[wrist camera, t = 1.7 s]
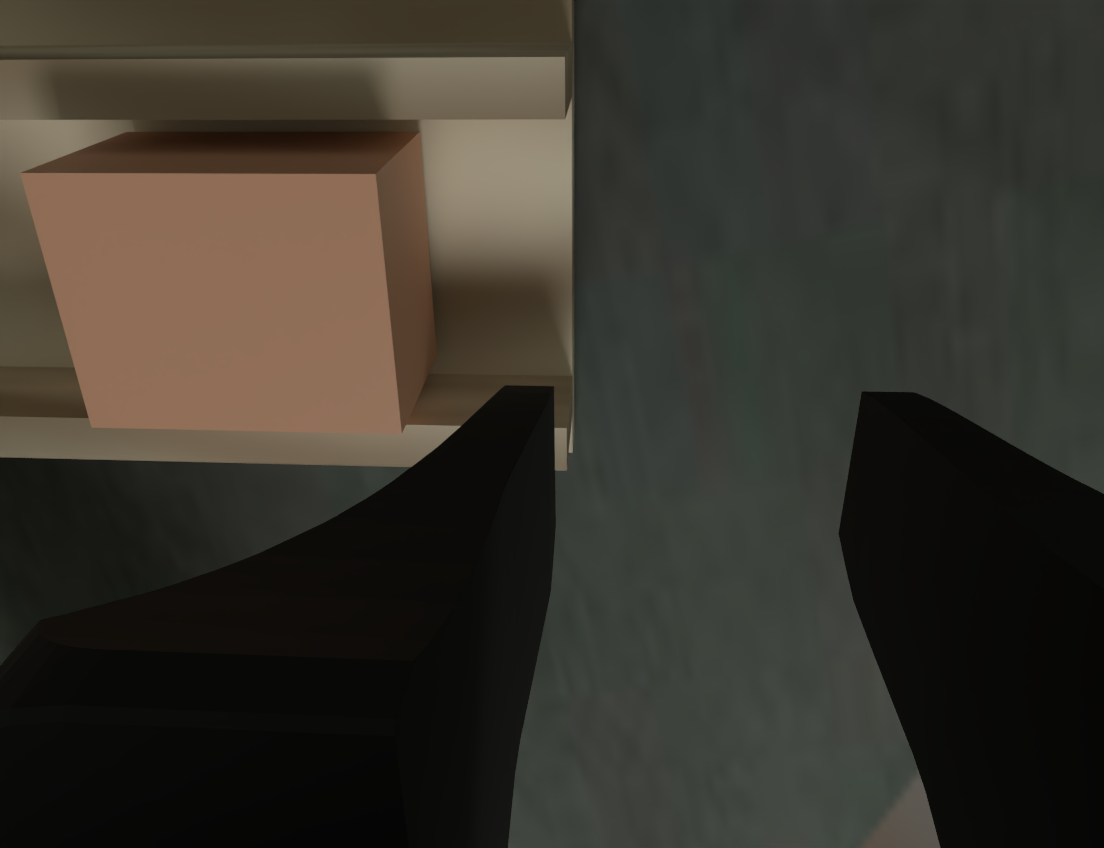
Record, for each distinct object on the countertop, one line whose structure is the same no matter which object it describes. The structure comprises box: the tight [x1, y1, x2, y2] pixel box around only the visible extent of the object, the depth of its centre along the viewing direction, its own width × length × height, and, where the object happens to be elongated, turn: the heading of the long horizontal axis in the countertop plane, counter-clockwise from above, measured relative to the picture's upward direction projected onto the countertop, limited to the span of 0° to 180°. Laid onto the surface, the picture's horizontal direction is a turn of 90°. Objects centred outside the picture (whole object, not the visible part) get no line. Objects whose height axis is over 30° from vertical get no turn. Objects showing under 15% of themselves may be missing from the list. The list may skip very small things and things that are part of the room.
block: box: [20, 132, 437, 434], centre depth 18 cm, size 5×6×4 cm
